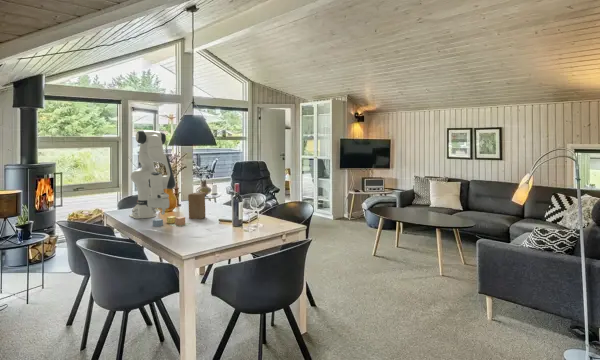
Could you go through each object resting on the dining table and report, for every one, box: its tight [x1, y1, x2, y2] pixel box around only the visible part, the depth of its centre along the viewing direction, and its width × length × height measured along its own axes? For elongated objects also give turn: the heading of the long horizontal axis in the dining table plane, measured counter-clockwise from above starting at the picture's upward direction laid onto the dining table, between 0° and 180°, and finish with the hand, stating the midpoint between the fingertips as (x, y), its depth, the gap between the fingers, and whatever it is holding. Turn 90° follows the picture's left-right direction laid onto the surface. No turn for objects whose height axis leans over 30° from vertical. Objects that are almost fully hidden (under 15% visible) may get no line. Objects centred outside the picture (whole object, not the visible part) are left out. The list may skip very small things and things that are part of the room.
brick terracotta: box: [174, 216, 186, 225], centre depth 272 cm, size 5×5×5 cm
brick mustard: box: [166, 215, 177, 224], centre depth 279 cm, size 5×5×5 cm
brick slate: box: [152, 218, 164, 227], centre depth 269 cm, size 5×5×5 cm
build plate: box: [169, 222, 192, 228], centre depth 272 cm, size 12×12×1 cm
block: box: [187, 192, 206, 220], centre depth 296 cm, size 10×10×20 cm
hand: (158, 214), depth 268 cm, fingers open, 8 cm apart
